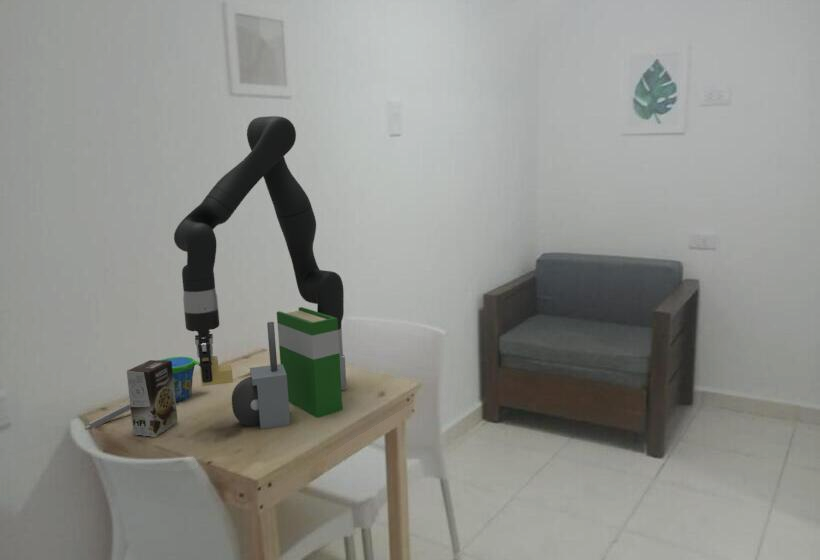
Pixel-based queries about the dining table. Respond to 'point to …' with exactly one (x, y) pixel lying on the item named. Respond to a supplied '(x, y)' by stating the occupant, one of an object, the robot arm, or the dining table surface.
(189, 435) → the dining table surface
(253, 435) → the dining table surface
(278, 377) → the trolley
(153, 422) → the coffee box
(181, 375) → the snack cup
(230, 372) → the wedge
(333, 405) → the hardback book
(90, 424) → the caliper
